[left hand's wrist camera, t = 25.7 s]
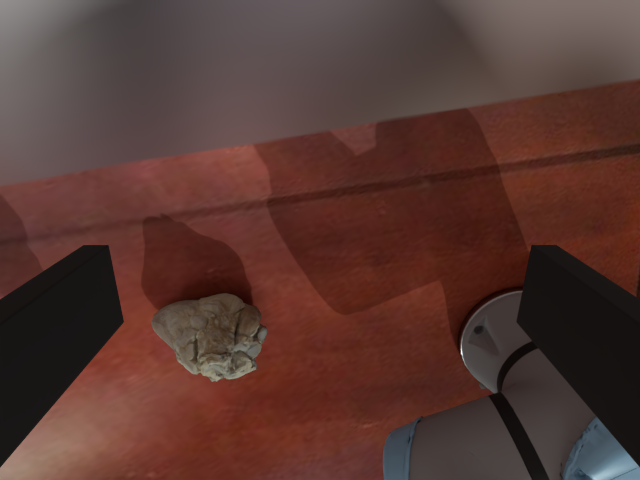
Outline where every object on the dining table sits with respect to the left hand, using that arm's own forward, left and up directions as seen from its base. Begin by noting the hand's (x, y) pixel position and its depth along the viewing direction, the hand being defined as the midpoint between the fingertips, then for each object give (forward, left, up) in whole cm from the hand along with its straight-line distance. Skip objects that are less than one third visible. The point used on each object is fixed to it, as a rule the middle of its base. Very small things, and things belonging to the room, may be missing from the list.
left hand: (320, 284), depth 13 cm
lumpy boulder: (+22, +17, -36) cm, 45 cm away
